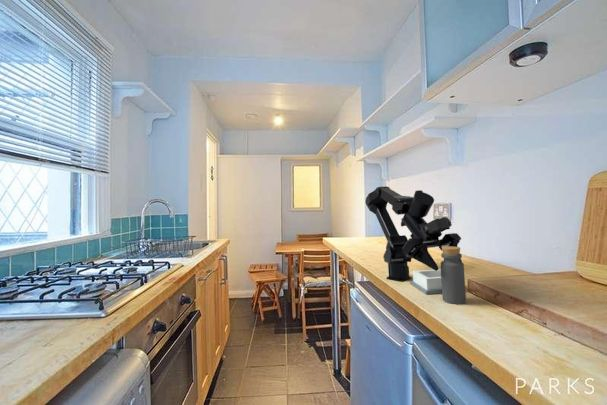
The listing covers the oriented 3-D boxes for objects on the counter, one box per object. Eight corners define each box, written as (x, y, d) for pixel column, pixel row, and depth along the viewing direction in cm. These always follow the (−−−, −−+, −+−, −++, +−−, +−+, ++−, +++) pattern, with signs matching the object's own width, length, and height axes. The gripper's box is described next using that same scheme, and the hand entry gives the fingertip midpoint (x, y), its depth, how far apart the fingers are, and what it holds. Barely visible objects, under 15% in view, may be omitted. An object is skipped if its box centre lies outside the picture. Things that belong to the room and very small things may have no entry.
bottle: (445, 304, 78) (442, 249, 78) (440, 297, 84) (437, 246, 84) (469, 304, 77) (465, 248, 77) (462, 297, 83) (459, 245, 83)
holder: (410, 283, 99) (409, 270, 99) (444, 281, 99) (443, 268, 99) (426, 294, 87) (425, 279, 87) (464, 291, 87) (463, 277, 87)
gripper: (406, 210, 83) (440, 253, 72) (453, 207, 90) (490, 246, 79) (390, 236, 90) (419, 278, 80) (435, 231, 97) (466, 269, 87)
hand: (449, 267), depth 81 cm, fingers open, 9 cm apart
